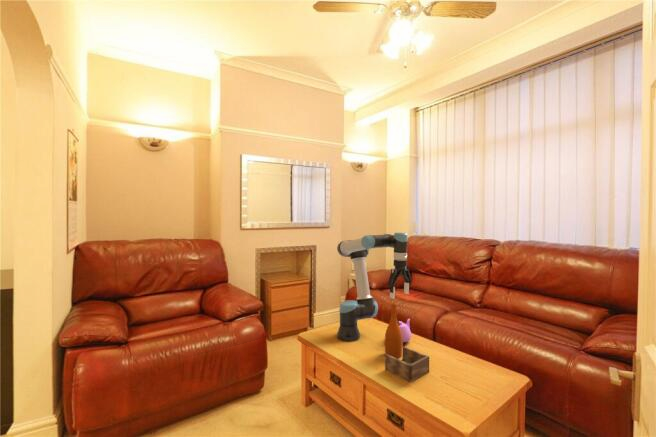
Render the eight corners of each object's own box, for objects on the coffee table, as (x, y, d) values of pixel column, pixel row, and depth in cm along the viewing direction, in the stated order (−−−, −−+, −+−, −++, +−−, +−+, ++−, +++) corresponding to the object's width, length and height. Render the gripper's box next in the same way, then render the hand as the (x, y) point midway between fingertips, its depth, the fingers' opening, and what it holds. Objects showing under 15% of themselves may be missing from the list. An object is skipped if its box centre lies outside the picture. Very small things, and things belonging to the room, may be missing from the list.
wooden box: (385, 369, 165) (385, 354, 164) (403, 360, 175) (403, 346, 175) (410, 382, 152) (410, 366, 152) (429, 372, 162) (429, 356, 162)
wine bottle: (402, 359, 176) (402, 307, 175) (384, 358, 178) (384, 305, 177) (401, 352, 185) (402, 302, 185) (385, 350, 187) (385, 301, 187)
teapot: (401, 333, 214) (401, 315, 214) (419, 340, 203) (419, 320, 203) (382, 341, 201) (382, 322, 201) (400, 348, 190) (400, 328, 190)
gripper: (392, 262, 169) (391, 301, 170) (418, 258, 185) (417, 293, 186) (381, 260, 174) (380, 298, 175) (407, 256, 191) (406, 290, 192)
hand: (399, 295), depth 181 cm, fingers open, 13 cm apart
